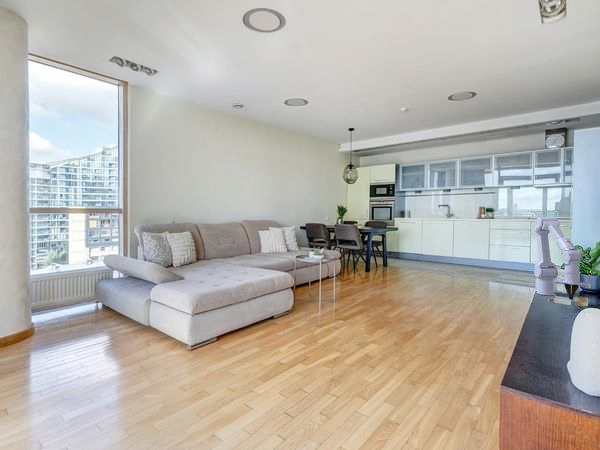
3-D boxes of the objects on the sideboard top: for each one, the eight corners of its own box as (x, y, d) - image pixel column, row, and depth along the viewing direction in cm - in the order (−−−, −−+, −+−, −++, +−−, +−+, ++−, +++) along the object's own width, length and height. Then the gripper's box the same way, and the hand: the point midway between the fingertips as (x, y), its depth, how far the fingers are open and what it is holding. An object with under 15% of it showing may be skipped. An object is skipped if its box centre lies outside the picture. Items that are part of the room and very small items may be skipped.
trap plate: (547, 301, 163) (547, 301, 163) (548, 299, 168) (548, 298, 168) (554, 302, 161) (554, 302, 161) (554, 299, 166) (554, 299, 166)
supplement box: (569, 290, 185) (570, 269, 184) (579, 293, 177) (580, 271, 177) (556, 290, 185) (556, 269, 185) (565, 293, 178) (566, 271, 178)
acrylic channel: (554, 302, 161) (554, 298, 161) (555, 299, 166) (555, 296, 166) (570, 305, 157) (570, 301, 156) (571, 302, 161) (571, 298, 161)
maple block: (574, 305, 157) (574, 297, 156) (574, 303, 160) (574, 295, 159) (587, 307, 153) (588, 299, 153) (587, 305, 156) (588, 297, 156)
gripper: (552, 272, 160) (552, 298, 161) (591, 276, 150) (590, 303, 151) (553, 270, 165) (553, 295, 166) (591, 273, 156) (590, 300, 156)
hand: (571, 299), depth 159 cm, fingers closed
